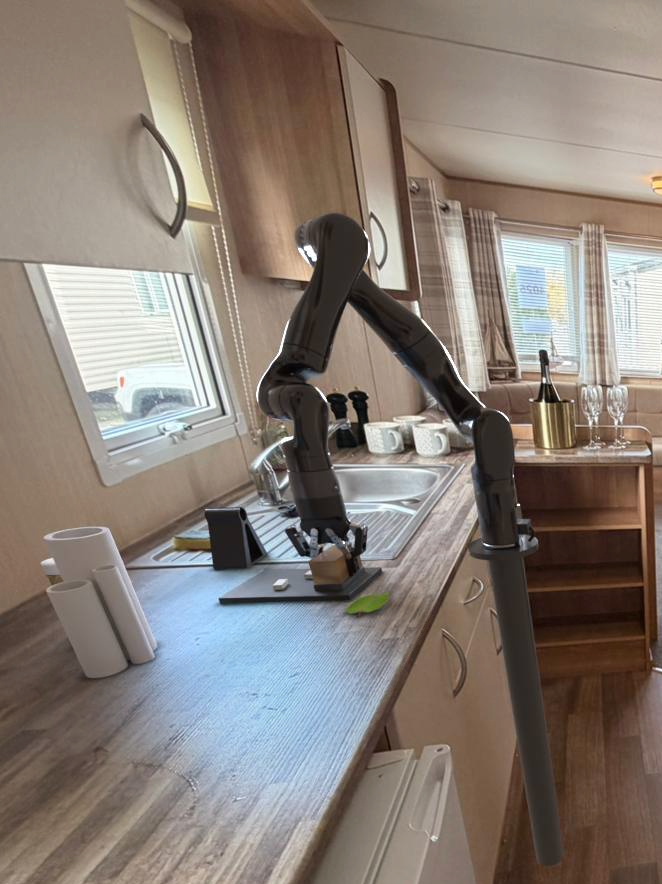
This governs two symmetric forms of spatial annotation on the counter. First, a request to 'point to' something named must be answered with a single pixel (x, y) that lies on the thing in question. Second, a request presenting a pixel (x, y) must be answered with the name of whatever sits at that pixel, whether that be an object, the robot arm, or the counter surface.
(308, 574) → the small white block
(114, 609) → the vase
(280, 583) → the small white block
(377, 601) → the decorative leaf
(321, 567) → the eraser
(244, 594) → the memo board
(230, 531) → the phone stand
